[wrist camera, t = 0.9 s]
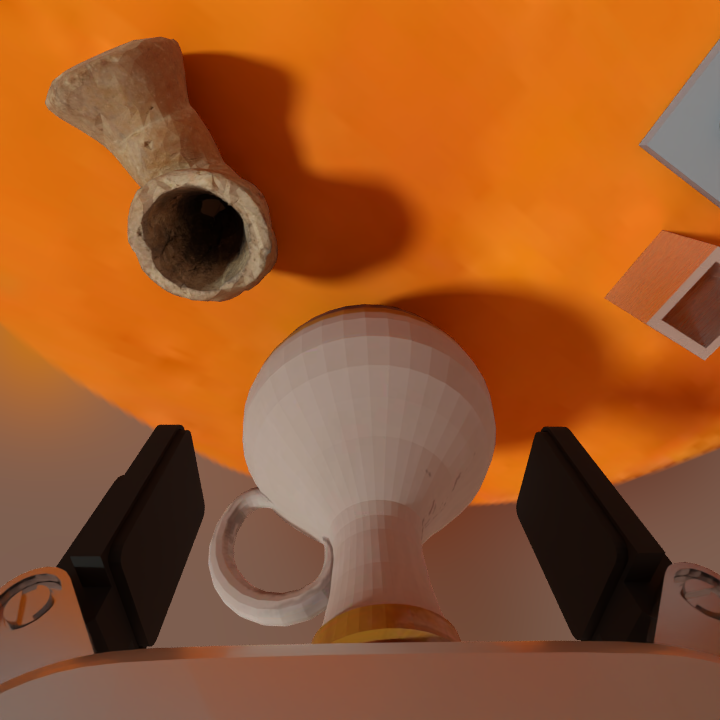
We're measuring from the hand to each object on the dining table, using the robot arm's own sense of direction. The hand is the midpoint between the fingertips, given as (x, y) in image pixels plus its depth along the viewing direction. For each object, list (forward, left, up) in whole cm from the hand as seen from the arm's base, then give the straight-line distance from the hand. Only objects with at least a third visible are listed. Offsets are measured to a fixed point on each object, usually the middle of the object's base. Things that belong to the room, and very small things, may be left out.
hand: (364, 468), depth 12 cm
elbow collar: (-10, +27, -27) cm, 40 cm away
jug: (+10, +5, -27) cm, 29 cm away
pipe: (+1, -13, -27) cm, 30 cm away
